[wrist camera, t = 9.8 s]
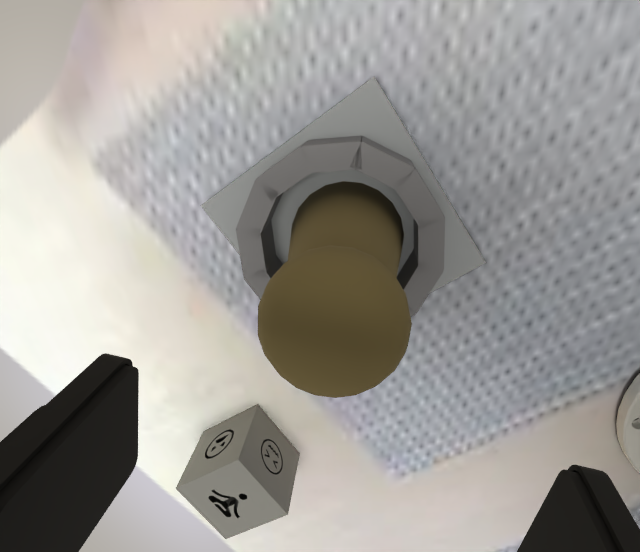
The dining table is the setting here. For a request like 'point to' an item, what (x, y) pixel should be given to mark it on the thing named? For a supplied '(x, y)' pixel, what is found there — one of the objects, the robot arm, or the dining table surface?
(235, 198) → the ring board
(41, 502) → the robot arm
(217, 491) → the dice cube
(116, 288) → the dining table surface
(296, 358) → the brown round-headed peg
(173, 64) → the dining table surface
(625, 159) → the dining table surface
